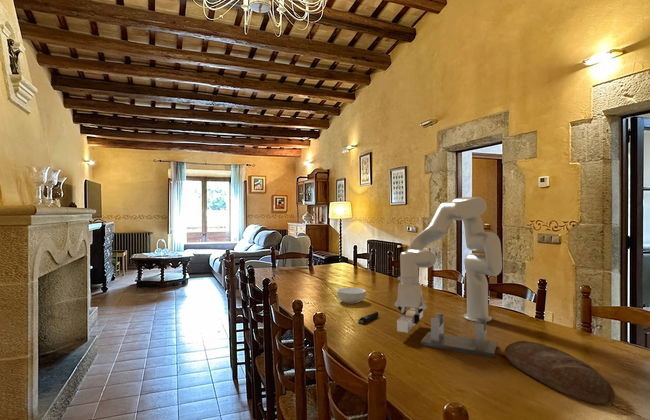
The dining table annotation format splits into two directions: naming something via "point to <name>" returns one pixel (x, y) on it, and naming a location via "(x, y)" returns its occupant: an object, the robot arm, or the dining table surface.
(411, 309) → the white and orange bar
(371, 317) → the electric trimmer
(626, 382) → the dining table surface
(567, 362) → the bread
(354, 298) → the cereal bowl
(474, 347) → the grey stand
